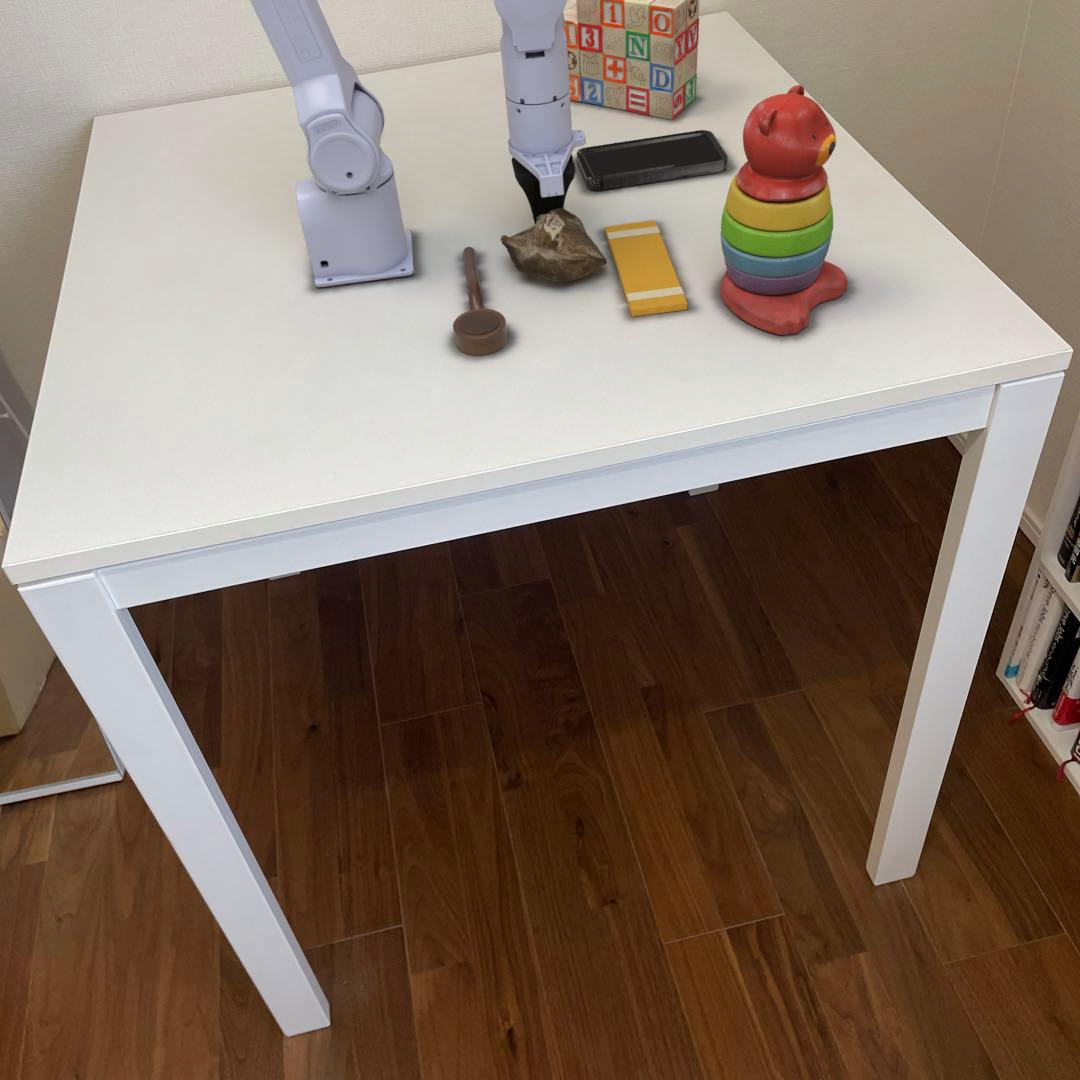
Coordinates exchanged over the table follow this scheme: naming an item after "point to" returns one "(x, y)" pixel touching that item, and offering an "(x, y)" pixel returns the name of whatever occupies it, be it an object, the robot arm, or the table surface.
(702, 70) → the table surface
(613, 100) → the stack of blocks
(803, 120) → the stacking bear
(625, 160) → the phone
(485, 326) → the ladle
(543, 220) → the fossilized seashell
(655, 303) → the towel
